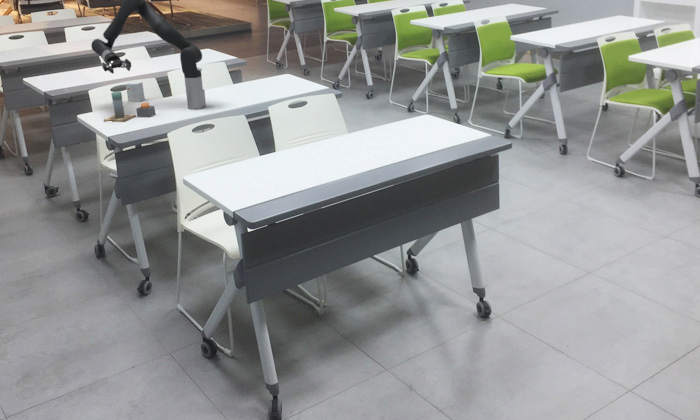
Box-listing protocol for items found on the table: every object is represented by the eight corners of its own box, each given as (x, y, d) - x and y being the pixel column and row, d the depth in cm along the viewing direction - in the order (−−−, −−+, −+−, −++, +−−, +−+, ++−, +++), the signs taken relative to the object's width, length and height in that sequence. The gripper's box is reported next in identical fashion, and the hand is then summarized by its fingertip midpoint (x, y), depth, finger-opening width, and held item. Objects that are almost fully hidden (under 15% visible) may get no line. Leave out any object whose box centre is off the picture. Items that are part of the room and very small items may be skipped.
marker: (124, 115, 390) (120, 91, 385) (125, 117, 385) (121, 93, 381) (114, 116, 388) (110, 92, 383) (115, 118, 384) (111, 94, 379)
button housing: (155, 114, 395) (154, 105, 393) (149, 117, 389) (148, 108, 387) (143, 113, 397) (142, 105, 395) (137, 116, 390) (136, 108, 389)
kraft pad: (136, 116, 391) (135, 114, 391) (124, 121, 380) (124, 119, 380) (115, 116, 394) (115, 114, 393) (103, 121, 383) (103, 119, 382)
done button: (151, 108, 393) (150, 102, 392) (147, 110, 389) (146, 104, 388) (143, 108, 394) (143, 102, 393) (139, 109, 390) (139, 104, 389)
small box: (145, 99, 432) (142, 82, 429) (139, 101, 427) (137, 83, 424) (133, 99, 435) (131, 81, 431) (128, 101, 430) (125, 83, 426)
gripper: (97, 54, 389) (106, 66, 378) (123, 50, 396) (133, 61, 385) (98, 67, 393) (108, 79, 382) (124, 63, 400) (135, 74, 389)
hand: (121, 70), depth 384 cm, fingers open, 8 cm apart
